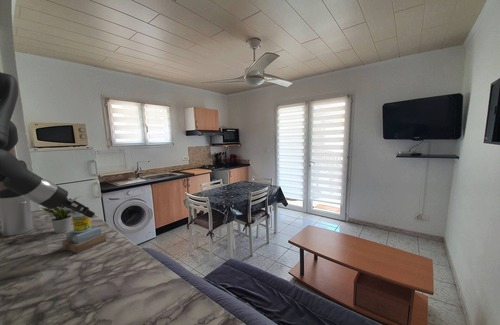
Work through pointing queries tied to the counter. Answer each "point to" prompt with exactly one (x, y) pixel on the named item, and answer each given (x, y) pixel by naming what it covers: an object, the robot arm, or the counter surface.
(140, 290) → the counter surface
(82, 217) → the supplement bottle
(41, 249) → the counter surface
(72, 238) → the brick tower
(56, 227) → the house plant
